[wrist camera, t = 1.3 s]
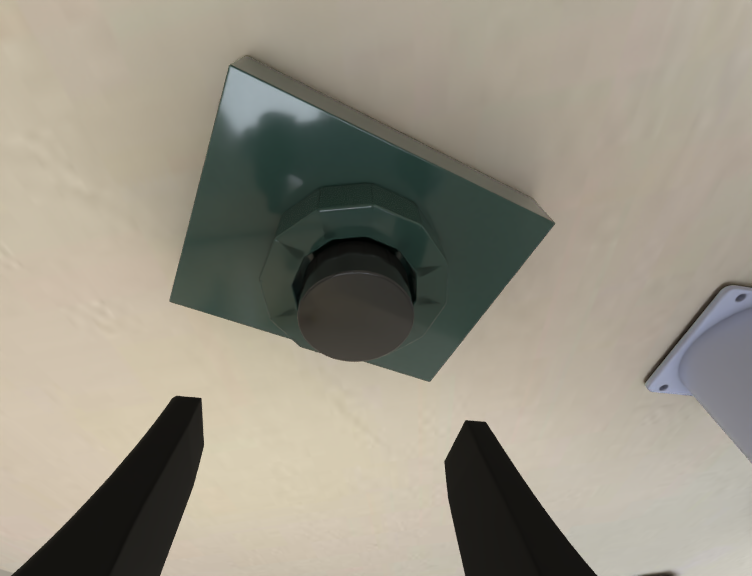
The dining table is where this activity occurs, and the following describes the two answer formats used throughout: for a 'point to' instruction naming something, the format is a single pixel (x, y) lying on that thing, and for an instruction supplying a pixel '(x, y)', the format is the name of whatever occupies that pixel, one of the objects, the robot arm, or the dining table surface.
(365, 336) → the dark grey push button
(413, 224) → the green push button box
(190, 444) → the robot arm
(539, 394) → the dining table surface
